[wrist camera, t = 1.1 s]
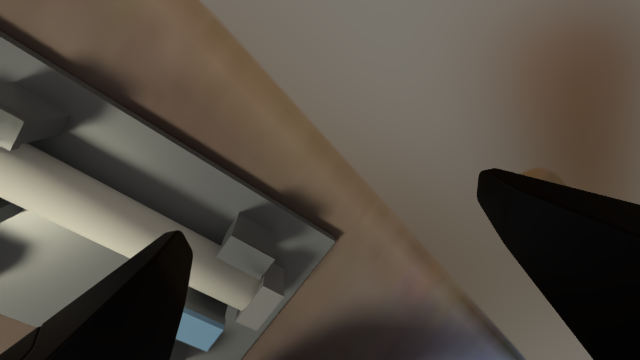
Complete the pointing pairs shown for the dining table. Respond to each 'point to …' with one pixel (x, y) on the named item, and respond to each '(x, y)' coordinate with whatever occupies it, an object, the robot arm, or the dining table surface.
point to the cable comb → (144, 187)
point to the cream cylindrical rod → (129, 228)
